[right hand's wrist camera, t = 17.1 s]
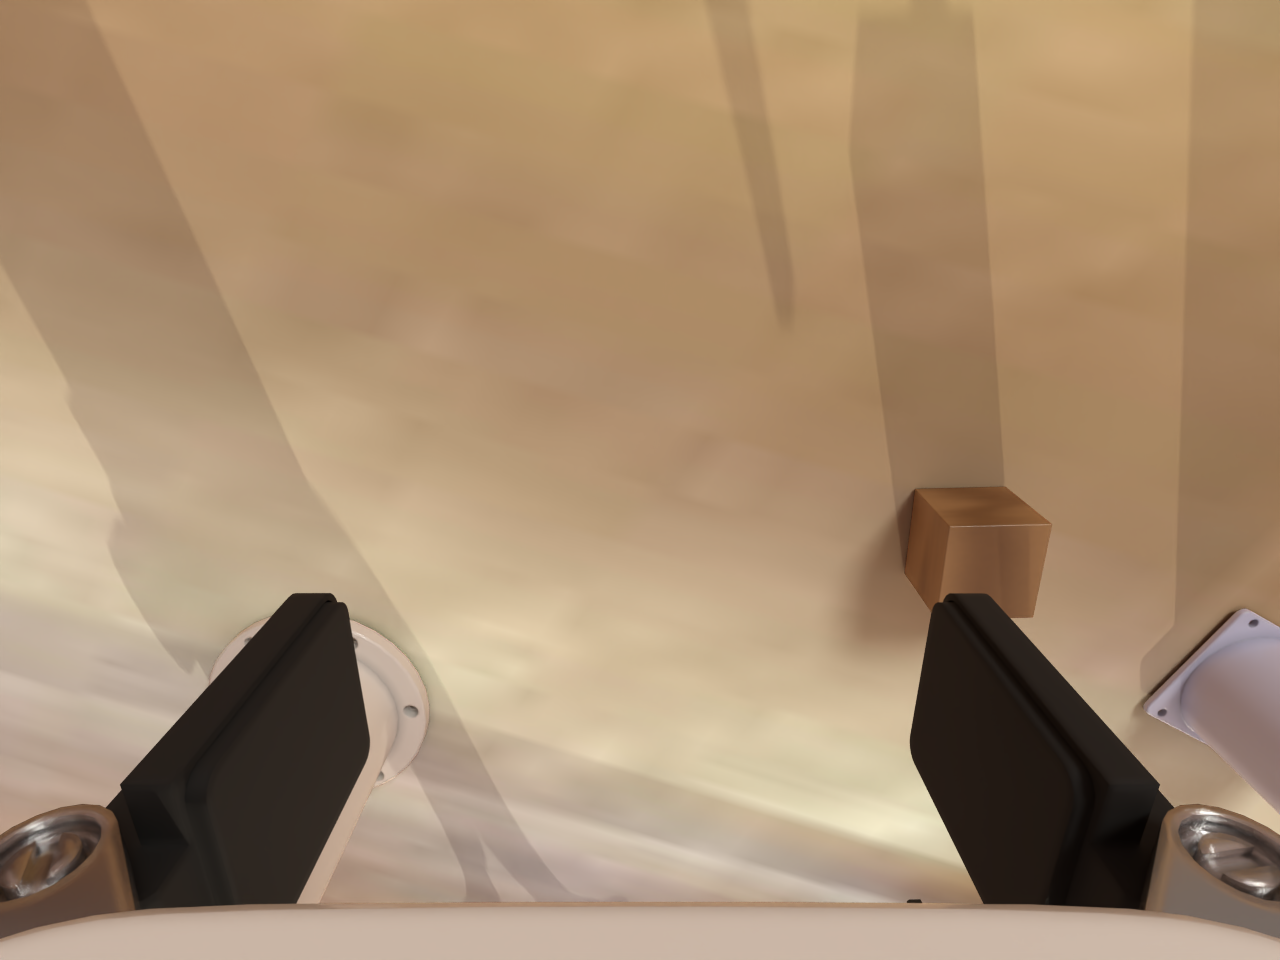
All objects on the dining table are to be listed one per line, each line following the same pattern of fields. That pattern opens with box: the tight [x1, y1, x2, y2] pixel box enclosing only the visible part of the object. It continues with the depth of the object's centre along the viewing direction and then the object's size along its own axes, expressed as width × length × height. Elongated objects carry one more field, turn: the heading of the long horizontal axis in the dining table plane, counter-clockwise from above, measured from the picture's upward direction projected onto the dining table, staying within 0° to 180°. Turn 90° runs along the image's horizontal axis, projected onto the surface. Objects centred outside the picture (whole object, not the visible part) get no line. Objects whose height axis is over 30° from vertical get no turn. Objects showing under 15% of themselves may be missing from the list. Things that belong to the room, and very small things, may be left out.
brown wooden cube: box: [905, 487, 1052, 618], centre depth 36 cm, size 5×5×5 cm
